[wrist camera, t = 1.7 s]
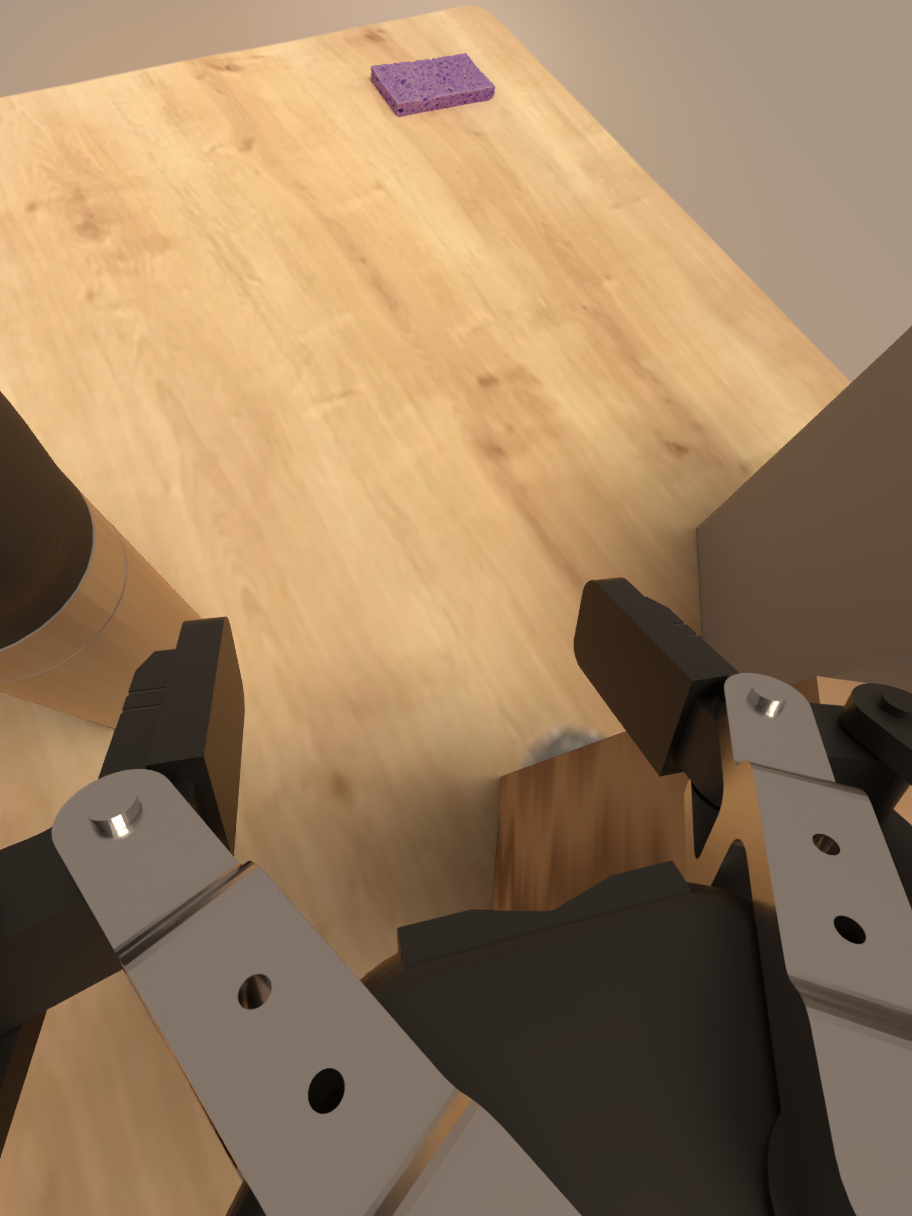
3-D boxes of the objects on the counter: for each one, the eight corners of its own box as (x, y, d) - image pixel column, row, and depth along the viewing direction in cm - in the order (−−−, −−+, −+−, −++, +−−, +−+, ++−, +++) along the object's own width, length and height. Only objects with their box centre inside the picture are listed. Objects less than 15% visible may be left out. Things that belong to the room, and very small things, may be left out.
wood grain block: (645, 995, 34) (1642, 1696, 7) (486, 980, 34) (903, 1684, 6) (642, 793, 39) (1253, 737, 11) (501, 776, 38) (789, 672, 11)
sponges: (370, 85, 64) (370, 65, 62) (466, 69, 67) (468, 49, 66) (397, 123, 62) (397, 103, 61) (493, 104, 66) (496, 85, 64)
